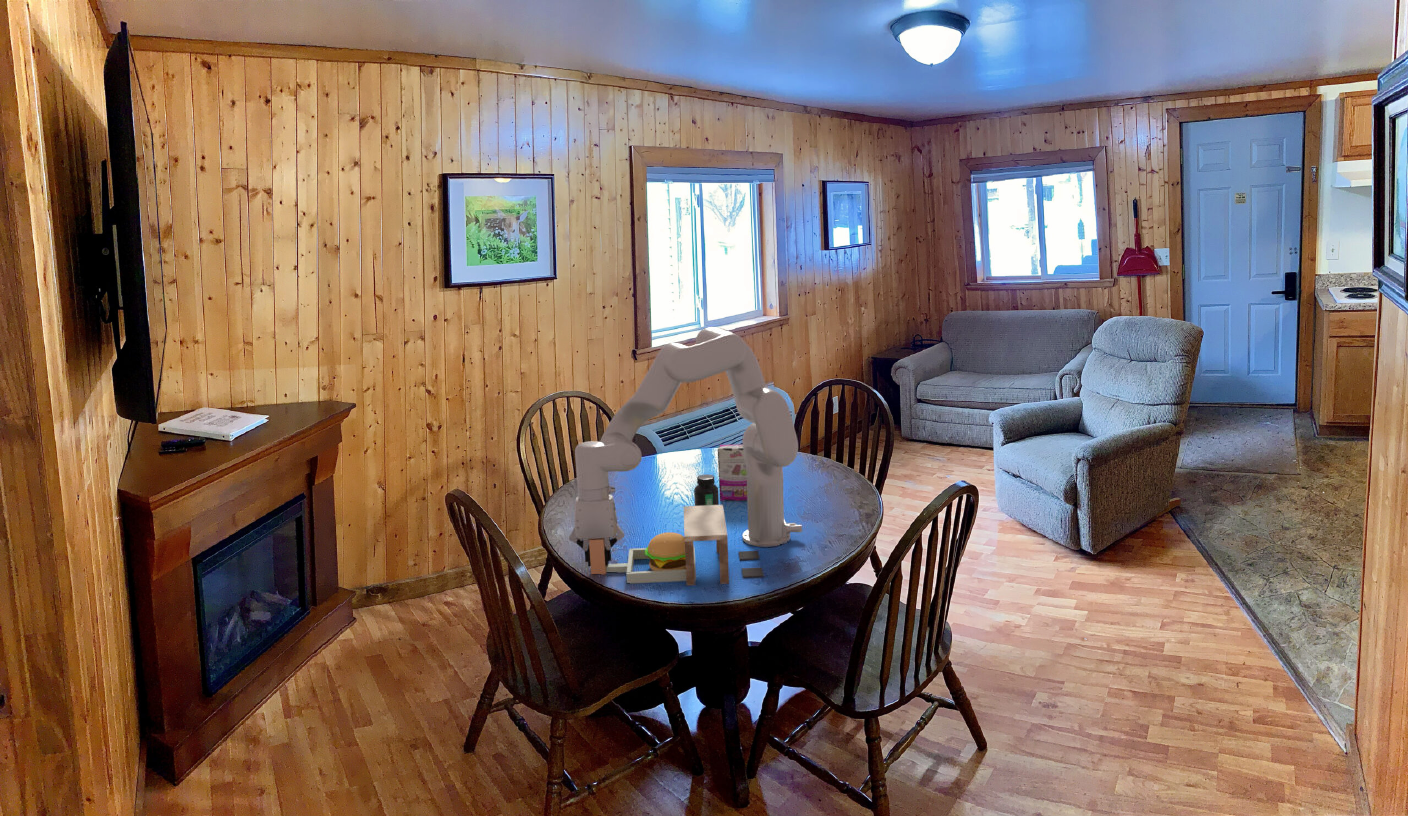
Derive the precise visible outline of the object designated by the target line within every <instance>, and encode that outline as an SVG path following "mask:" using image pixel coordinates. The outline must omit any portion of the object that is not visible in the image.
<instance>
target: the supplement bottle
mask: <svg viewBox="0 0 1408 816" xmlns="http://www.w3.org/2000/svg"><path fill="white" fill-rule="evenodd" d="M696 480H697V481H696V484H697V485H696V486H695V487H694V490H693V494H694V495H693V496H694V497H693V498H694V506H705V505H720V494H719V487H718V485H716V484H715V483H716V482H715V476H714V475H713V474H701V475H697V477H696Z"/></svg>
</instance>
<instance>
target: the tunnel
mask: <svg viewBox="0 0 1408 816" xmlns="http://www.w3.org/2000/svg"><path fill="white" fill-rule="evenodd" d="M723 505H724V504H719V505H705V506H695V505H690V506H689V505H687V506H686V505H685V506H684V505H683V529H684V531H683V532H684V535H683V537H685V560H686V581H685V582H686V586H696V580H695V570H694V548H695V545H694V542H701V541H708V542H709V541H715V548H716V549H715V550H716V554H718V555H719V556H718V557H719V558H718V559H719V581H720V582H719V583H720V585H723V584H724V585H727V584H730V573H729V571H730V570H729V569H730V567H729V549H728V548H729V545H728V543H729V540H728V539H729V538H728V531H727V524H726V516H725V511H724V506H723Z"/></svg>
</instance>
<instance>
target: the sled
mask: <svg viewBox="0 0 1408 816" xmlns="http://www.w3.org/2000/svg"><path fill="white" fill-rule="evenodd" d="M589 548H590V562H591V566H590V573H591V574H601V575H606V574H607V573H606V572H618V573H626V584H627V583H630V584H646V583H648V584H650V583H668V582H669V583H670V582H686V569H683V570H662V571H653V570H645V571H644V570H643V571H642V570H641V571H633V570H634V561H635V560H649V557H648V556H646V555H645V550H646V548H647V547H641V548H640V547H639V548H637V547H636V548H629V550H628V557H627V563H625V562H624V563H608V566H606V565H605V554H604V550H605V541H604V538H603V539H589ZM695 551H696V550H695V547H694V570H695V581H697V569H696V568H697V567H696V552H695ZM591 574H590V575H591Z"/></svg>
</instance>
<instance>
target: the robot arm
mask: <svg viewBox="0 0 1408 816" xmlns="http://www.w3.org/2000/svg"><path fill="white" fill-rule="evenodd" d="M760 366H761V365H760V363H759V361H758V358H757V357H756V354H755V353H754V351H753V350H752V348H751V347H750V346H749V345H748V343H747V342H746V341H745V340H744V339H743V338H742V337H741V336H740V335H738V334H736V333H735V332H734V333H733V332H732V331H730V330H728V329H725V328H721V327H715V326H710V327H705V328H703V329H702V330H700V331H699V332H698V334H697V336H696V338H695V344H694V345H690V346H687V345H684V344H682V343H677V342H671V343H668V344H665V345H664V346H663V347H662V348H660V350H659V351H658V353H657V355H656V356H655V358H654V359H653V362H652V364H651V365H650V367H649V369H648V370H647V372H646V374H645V376H644V378H643V379H642V381H641V383H640V385H639V386H638V388H637V390H636V391H635V393H634V394H633V395H632V396H631V397H630V398H629V399H628V400H627V401H626V402H625V403H624V404H623V405H622V406H621V407H620V408H619V409H618V411H617V412H616V413H615V414H614V415H613V417H612V418H611V420H610V422H609V423H608V425H607V427H606V428H605V430H604V432H603V434H602V436H601V438H600V441H599V440H598V441H596V440H592V441H591V440H590V441H584V442H581V443H578V444H577V445H576V446H575V449H574V455H575V468H576V483H577V486H576V487H577V496H576V497H575V503H574V527H573V528H572V531H571V532H570V534H569V537H568V540H569V541H570V542H572V543H574V544H577V546H578V547H580V548H581V549H582V550H583V551H584V561H585V563H587V567H591V562H590V548H589V539H603V538H604V541H605V550H604V554H605V565H606V566H608V564H610V562H611V561H612V550H611V549H612V548H613V547H614V545H616V543H617V542H619V541H621V540H622V539H624V538H625V533H624V531H623V530H622V528H621V527H620V525H619V524H618V516H617V508H616V503H615V499H614V495H612V494H615V493H616V487H615V486H611V485H610V482H609V472H613V473H614V472H617V473H618V472H619V473H620V472H621V473H622V472H630V471H633V470H635V469H636V468H637V467H638V466H639V465H640V463H641V461H642V456H643V455H642V451H641V448H639V446H638V445H637V444H636V442H633V438H635V435H636V434H637V432H638V431H639V430H640V428H641V427H642V426H643V425H644V424H645V423H646V422H647V421H649V420H651V419H653V418H655V417H657V416H660V415H662V414H663V413H665V412H666V411H667V409H668V408H669V406H670V403H671V402H672V400H673V398H674V397H675V395H676V393H677V391H678V390H679V388H680V386H681V385H682V383H683V384H685V383H686V384H690V383H694V382H697V381H702V380H704V379H707V378H711V377H713V376H715V375H718V374H721V373H724V372H725V374H726V377H727V380H728V382H729V385H730V388H731V392H732V394H733V399H734V403H735V406H736V410H737V413H738V414H739V415H740V416H741V417H742V419H744V420H746V421H748V422H751V424H749V425H748V426H747V427H746V428H745V430H744V433H743V436H742V445H743V450H744V456H745V461H746V471H747V501H746V502H747V505H746V506H747V529H746V530H745V531H744V532H743V533H742V536H741V537H742V541H744V542H745V544H748V545H750V546H754V547H760V548H761V547H763V548H766V547H768V548H771V547H777V546H780V544H782V545H784V544H786V543H788V542H790V539H791V533H802V532H803V525H802V524H797V523H796V522H791V523H789V522H786V520H785V508H784V505H785V504H784V470H783V468H785V467H788V466H790V465H791V464H792V463H793V462H794V461H795V459H796V458H797V455H798V451H799V442H798V441H799V440H798V436H797V433H796V430H795V429H796V428H795V426H794V422H793V421H794V420H793V417H792V415H791V414H792V413H791V411H790V408H789V405H788V402H787V401H786V399H785V397H783V395H782V394H780V393H779V392H777V391H776V390H774V389H771V388H769V387H768V385H767V384H766V381H765V377H764V376H763V373H762V369H761V367H760ZM787 541H788V542H787ZM783 543H784V544H783Z"/></svg>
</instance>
